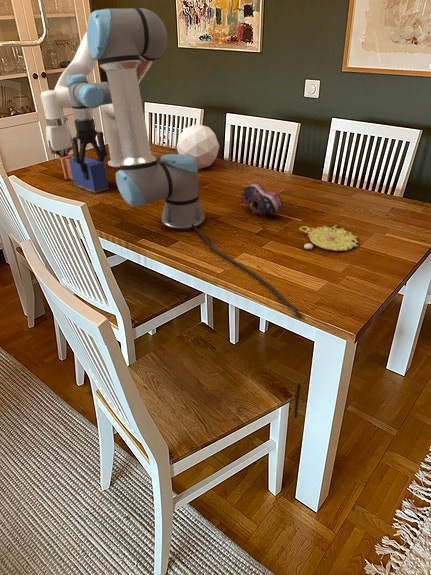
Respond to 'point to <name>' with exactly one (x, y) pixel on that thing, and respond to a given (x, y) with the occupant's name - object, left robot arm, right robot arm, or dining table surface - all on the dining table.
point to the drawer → (66, 166)
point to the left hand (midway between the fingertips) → (65, 164)
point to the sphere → (198, 145)
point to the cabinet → (90, 175)
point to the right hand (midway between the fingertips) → (94, 176)
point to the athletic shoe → (261, 200)
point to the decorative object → (330, 238)
